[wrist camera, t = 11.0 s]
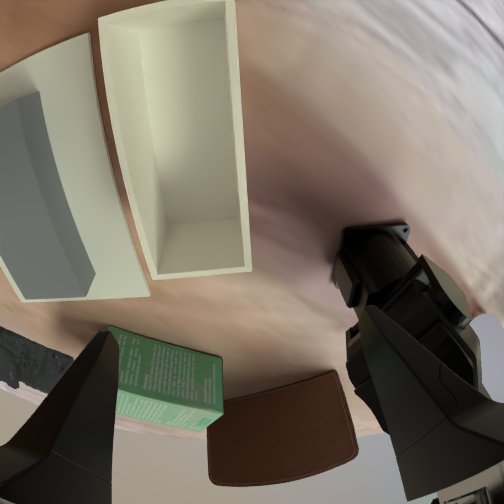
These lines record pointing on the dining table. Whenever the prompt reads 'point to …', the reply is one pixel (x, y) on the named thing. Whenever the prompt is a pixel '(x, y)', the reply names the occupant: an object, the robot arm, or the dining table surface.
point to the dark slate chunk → (30, 362)
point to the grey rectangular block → (37, 210)
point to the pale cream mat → (80, 163)
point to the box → (167, 383)
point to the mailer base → (180, 133)
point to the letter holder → (282, 434)
